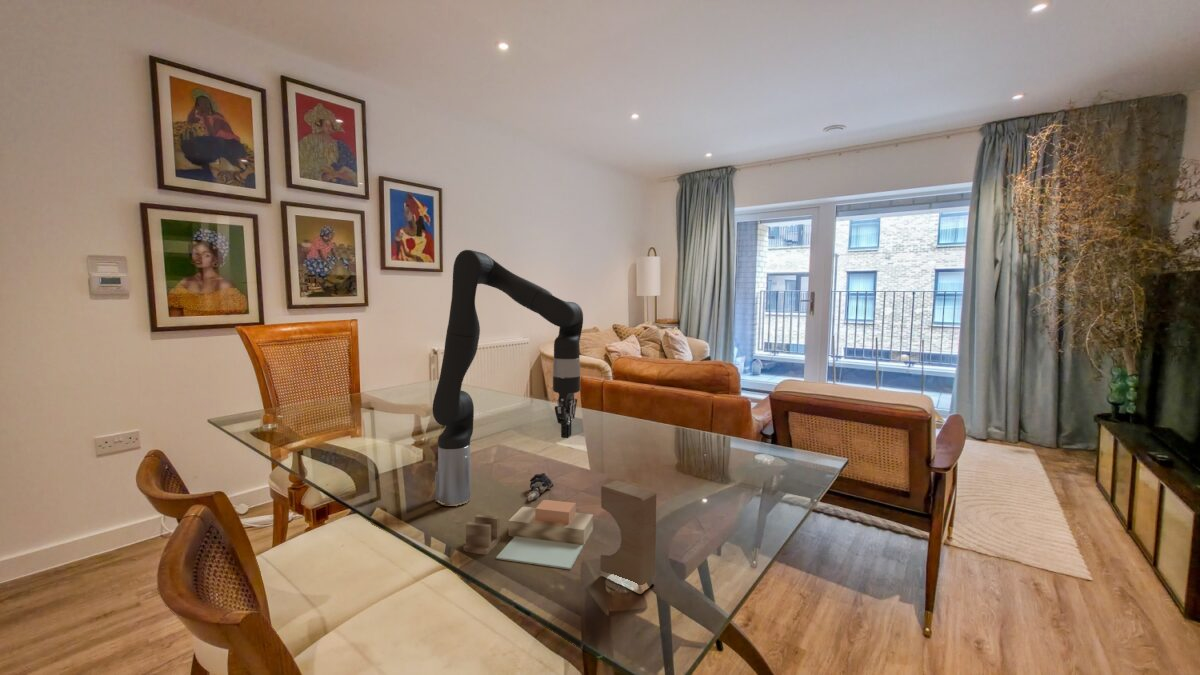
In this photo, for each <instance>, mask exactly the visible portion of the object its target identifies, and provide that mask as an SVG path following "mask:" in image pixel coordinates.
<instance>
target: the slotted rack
mask: <svg viewBox="0 0 1200 675" xmlns="http://www.w3.org/2000/svg"><path fill="white" fill-rule="evenodd" d="M502 538H503V537H502V534H501V533H500V516H497V515H496V516H495V515H486V514H479V513H478V514H476V515H475V516H474V522H472V521H468V522H467V523H465V545H463V552H464V551H465V552H464V553H471V554H479V555H484V556H487V555H488V554H489V553H491V551H492V550H493V549H494V547H495V546H496V545H498V544H499V543H500V541H502Z"/></svg>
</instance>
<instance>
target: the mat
mask: <svg viewBox="0 0 1200 675" xmlns="http://www.w3.org/2000/svg"><path fill="white" fill-rule="evenodd" d="M583 548H584V546H583V545H579V544H571V543H563V542H556V541H548V540H541V539H533V538H525V537H518V536H515V537H514V536H513V538H512V539H511V540H510V541H509V542H508V544H506V546H504V548H503V549H502V550H501V551H500V553H499V554H497V556H496V558H495V559H497V560H502V561H509V562H515V563H516V562H517V563H522V564H530V565H536V566H537V565H538V566H542V567H543V566H544V567H550V568H556V569H565V570H571V569H572V568H573V566H574V564H575V562H576V560H577V559H578V557H579V555H580V553H581V551H582V550H583Z"/></svg>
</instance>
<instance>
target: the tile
mask: <svg viewBox="0 0 1200 675" xmlns="http://www.w3.org/2000/svg"><path fill="white" fill-rule="evenodd" d="M576 506H577V503H576V502H568V501H558V500H552V499H551V500H550V499H543V500H542V501H541V502H540V503H539V504H538V505H537V506H536V507H534V508H535V520H539V521H547V522H555V523H564V524H569V523H570V522H571V520H572V519H573V517H574V516H575V514H576V513H577V510H576V509H577V508H576Z"/></svg>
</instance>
